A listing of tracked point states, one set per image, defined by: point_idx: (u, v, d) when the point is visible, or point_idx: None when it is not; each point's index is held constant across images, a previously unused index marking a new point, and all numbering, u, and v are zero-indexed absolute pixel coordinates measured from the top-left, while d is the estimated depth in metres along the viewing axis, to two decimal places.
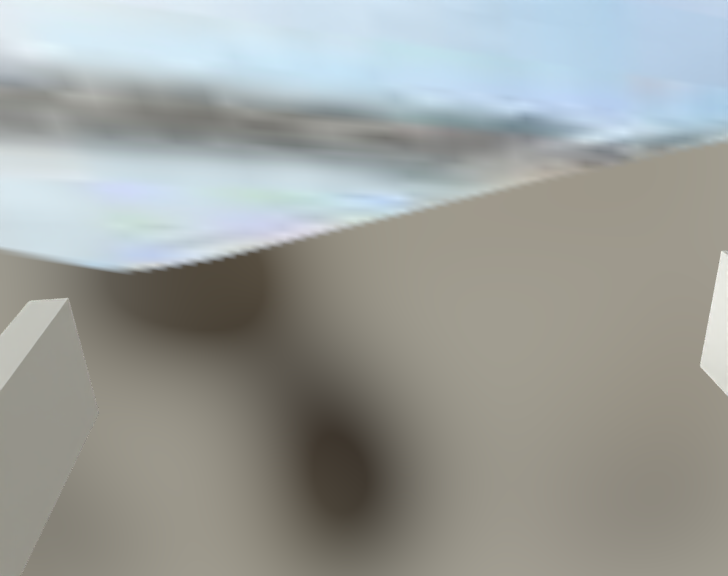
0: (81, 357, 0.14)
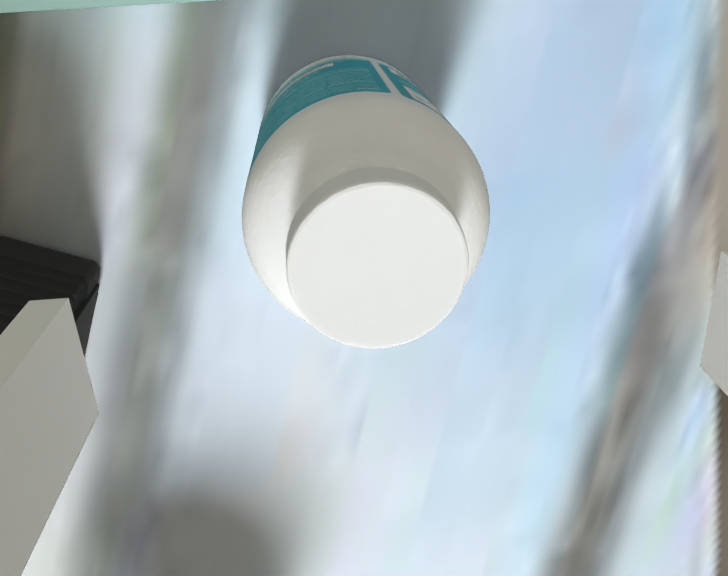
0: (81, 357, 0.14)
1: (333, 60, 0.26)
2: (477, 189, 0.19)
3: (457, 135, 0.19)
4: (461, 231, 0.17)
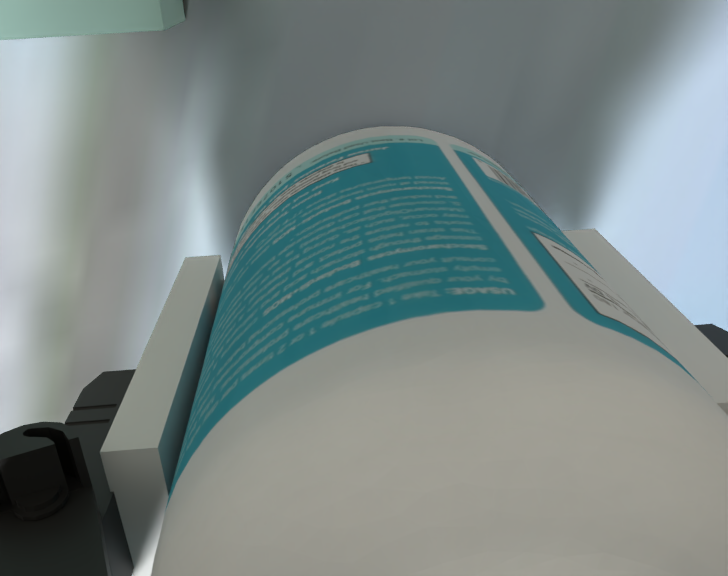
0: None
1: (367, 144, 0.13)
2: None
3: None
4: None
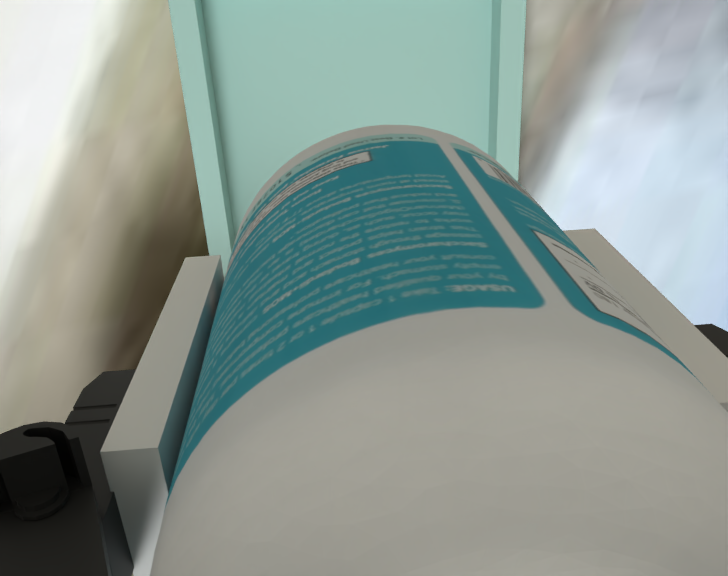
0: None
1: (367, 142, 0.13)
2: None
3: None
4: None
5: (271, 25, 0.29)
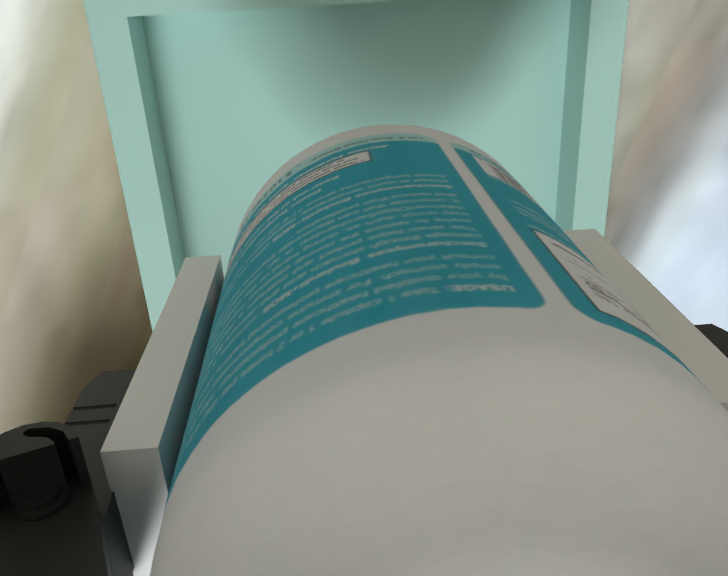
0: None
1: (367, 142, 0.13)
2: None
3: None
4: None
5: (247, 60, 0.20)
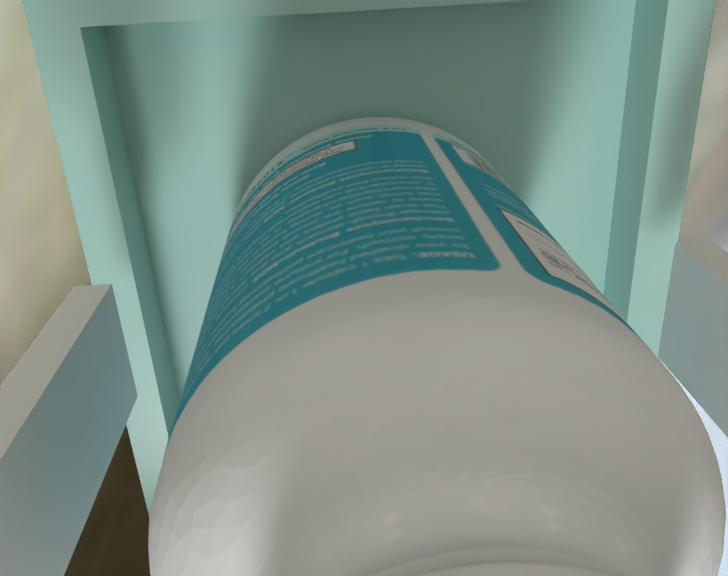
0: (122, 341, 0.14)
1: (354, 132, 0.14)
2: (717, 511, 0.08)
3: (671, 384, 0.08)
4: None
5: (235, 79, 0.16)
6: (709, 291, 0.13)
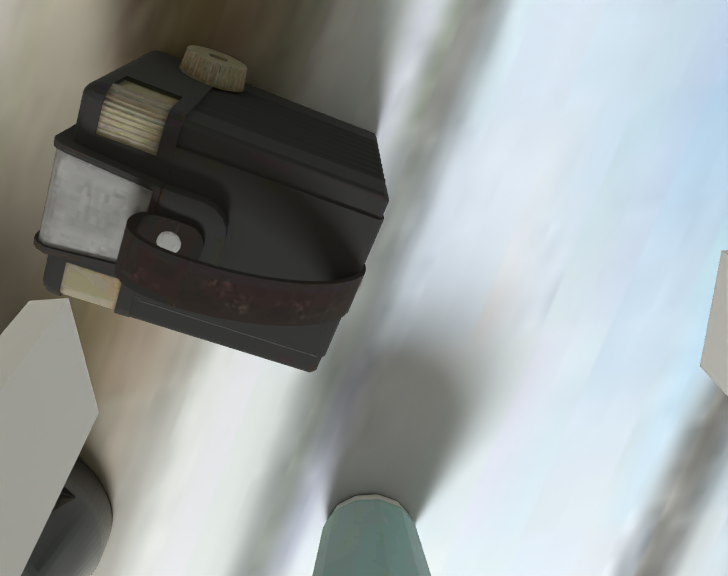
0: (82, 357, 0.14)
1: None
2: None
3: None
4: None
5: None
6: None
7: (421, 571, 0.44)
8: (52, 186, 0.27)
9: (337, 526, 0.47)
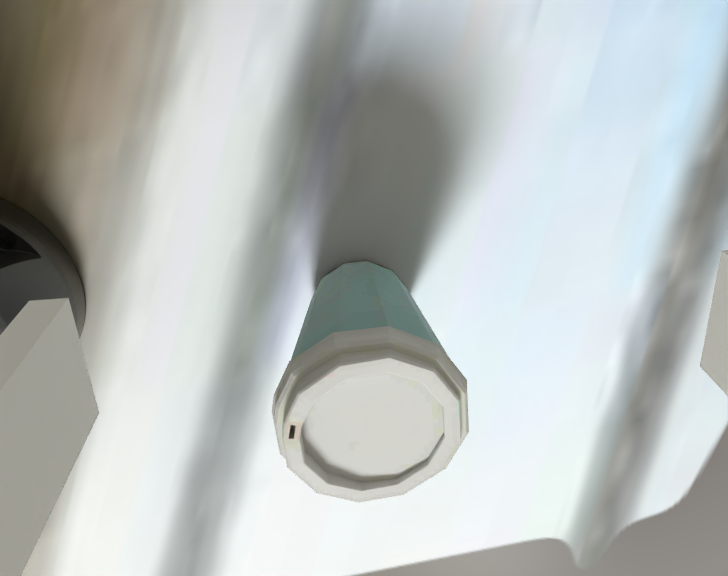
0: (81, 357, 0.14)
1: None
2: None
3: None
4: None
5: None
6: None
7: (416, 309, 0.41)
8: None
9: (325, 284, 0.44)
